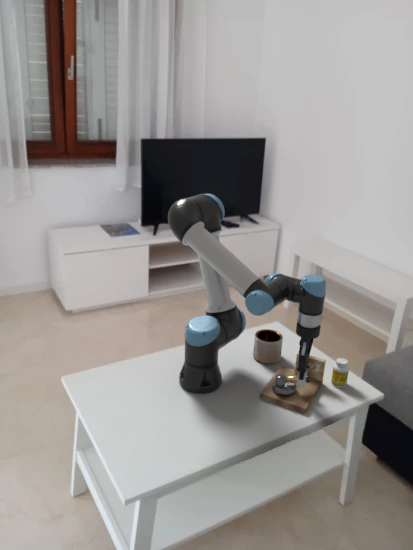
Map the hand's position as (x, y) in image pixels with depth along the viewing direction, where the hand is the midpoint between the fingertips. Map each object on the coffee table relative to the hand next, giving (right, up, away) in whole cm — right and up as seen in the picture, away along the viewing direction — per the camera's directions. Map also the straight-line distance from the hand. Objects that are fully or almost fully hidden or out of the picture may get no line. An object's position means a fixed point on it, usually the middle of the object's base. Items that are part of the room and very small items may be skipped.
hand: (300, 385), depth 159 cm
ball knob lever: (-3, -2, +3) cm, 5 cm away
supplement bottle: (+16, -2, +11) cm, 20 cm away
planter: (-8, +5, +26) cm, 28 cm away
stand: (-2, -3, +6) cm, 7 cm away
